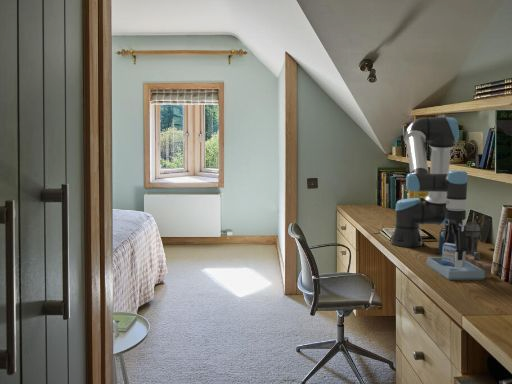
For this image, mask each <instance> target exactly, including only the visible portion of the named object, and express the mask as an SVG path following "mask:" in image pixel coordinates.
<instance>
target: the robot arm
mask: <svg viewBox="0 0 512 384" xmlns="http://www.w3.org/2000/svg"><path fill="white" fill-rule="evenodd" d="M403 136H404V137H403V139H404V143H405V145H406V146H407V154H408V155H407V156H408V165H409V173H407V174H406V179H405V185H406V190H407V191H410V192H428V194H427V196H425V197H424V200H423V201H422V200H421V199H420V198H417V197H411V198H410V197H409V198H402V199H399V200H397V201H396V204H395V222H394V223H395V224H394V225H395V226H394V227H395V228H394V231H393V233H392V236H391V239H390V241H391V242H390V243H391V245H394V246H398V247H404V248H418V247H421V246H422V245H423V238H422V235H421V232H420V225H427V226H428V225H433V226H444V228H445V232H444V239H443V243H452V242H453V239H454V236H455V244H456V249H457V250H455V268H462V263H463V252H464V251H466V233H465V232H466V226H465V225H463V221H464V220H466V219H467V217H466V215H467V211H466V209H467V194H468V180H469V179H468V172H467V171H466V170H450V159H451V150H452V149H453V148H454V147H455V143H458V142H459V139H460V130H459V124H458V121H457V119H456V118H455V117H447V116H441V117H440V116H439V117H437V116H436V117H433V116H432V117H426V116H425V117H420V118H417V119H415V120H413V121H411V123H409V125H408V126H407V128H406V130H405V131H404V135H403ZM425 143H428V146H429V147H430V148H431V154H430V169H429V167H428V166H429V165H428V160H427V153H426V147H425V146H426V145H425ZM452 244H453V243H452Z"/></svg>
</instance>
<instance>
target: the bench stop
mask: <svg viewBox="0 0 512 384" xmlns="http://www.w3.org/2000/svg"><path fill="white" fill-rule="evenodd" d="M480 256H481V255H480V252H479V251H477V252H474V256H472V255H465V260H466V261H468V262H469V263H471V264H473V265H475V266H477V267H479V268H480V269H482V270H484V271H485V275H484V279H491V278H492V264H490V263H487V262H485V261H483V260H482V259H480V258H481V257H480Z"/></svg>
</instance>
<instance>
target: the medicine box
mask: <svg viewBox="0 0 512 384" xmlns="http://www.w3.org/2000/svg"><path fill="white" fill-rule="evenodd" d="M455 250H457V249H456V243H455V244H452V243H444V244H443V250H442V255H441V257H442V265H446V266H452V267H455ZM465 255H466V251H464V252H463V263H462V267H464V266H465Z"/></svg>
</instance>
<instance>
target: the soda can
mask: <svg viewBox="0 0 512 384" xmlns="http://www.w3.org/2000/svg"><path fill="white" fill-rule="evenodd" d="M444 232H445V227H443V228H441V229H440V231H439V235H438V238H439V239H438V253H439V254H440V256H442V250H443V244H444V243H443V239H444ZM452 243H453V244H456V242H455V236H454V239H453V242H452Z"/></svg>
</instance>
